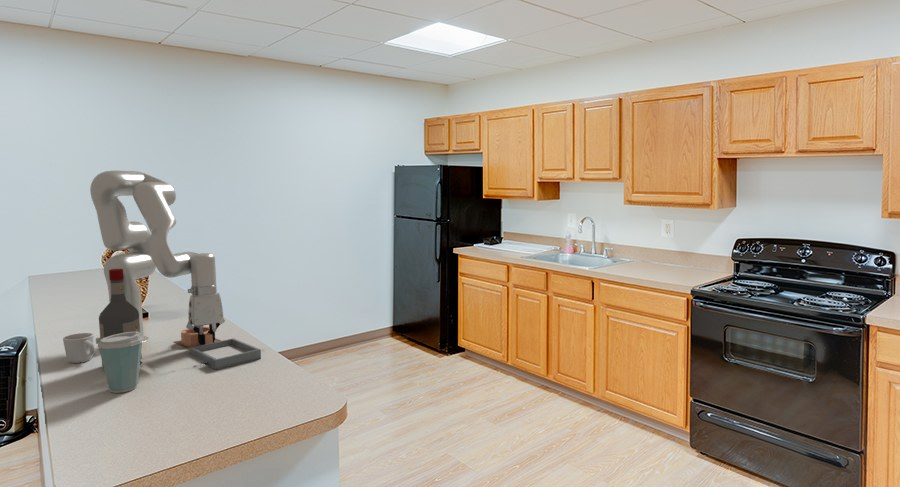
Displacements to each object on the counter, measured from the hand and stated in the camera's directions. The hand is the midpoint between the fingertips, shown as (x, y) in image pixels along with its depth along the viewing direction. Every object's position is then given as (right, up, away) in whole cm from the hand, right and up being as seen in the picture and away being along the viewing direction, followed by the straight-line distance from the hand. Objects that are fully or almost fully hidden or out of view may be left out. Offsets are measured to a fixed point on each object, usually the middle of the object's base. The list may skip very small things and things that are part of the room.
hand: (206, 343), depth 183 cm
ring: (-4, 0, +4) cm, 5 cm away
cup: (-34, -4, -12) cm, 36 cm away
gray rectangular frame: (+10, -3, -9) cm, 13 cm away
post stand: (-5, -1, +5) cm, 7 cm away
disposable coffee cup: (-7, -6, -35) cm, 36 cm away
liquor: (-18, -4, -17) cm, 25 cm away
